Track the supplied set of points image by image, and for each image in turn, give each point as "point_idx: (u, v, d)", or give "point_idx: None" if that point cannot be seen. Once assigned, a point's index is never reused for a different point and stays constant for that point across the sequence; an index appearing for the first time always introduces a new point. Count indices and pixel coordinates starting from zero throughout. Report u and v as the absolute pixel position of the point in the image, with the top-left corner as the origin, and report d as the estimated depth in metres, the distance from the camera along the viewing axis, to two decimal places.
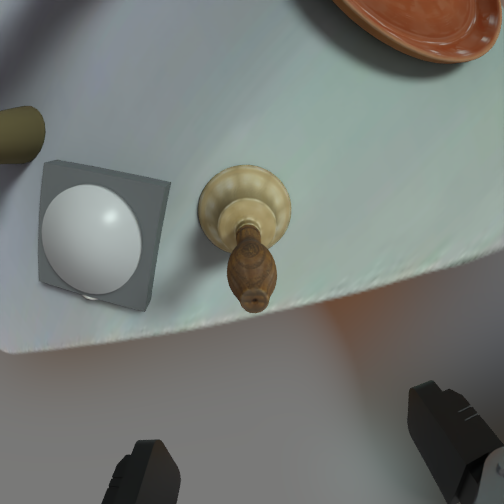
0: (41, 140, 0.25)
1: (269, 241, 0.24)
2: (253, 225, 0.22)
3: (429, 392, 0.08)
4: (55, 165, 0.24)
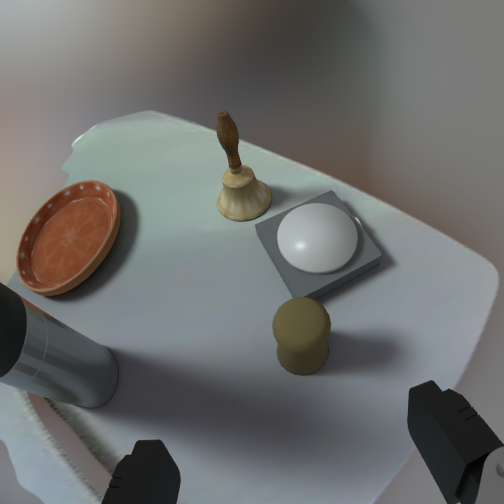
0: None
1: None
2: (229, 167, 0.43)
3: (429, 392, 0.08)
4: (293, 290, 0.38)
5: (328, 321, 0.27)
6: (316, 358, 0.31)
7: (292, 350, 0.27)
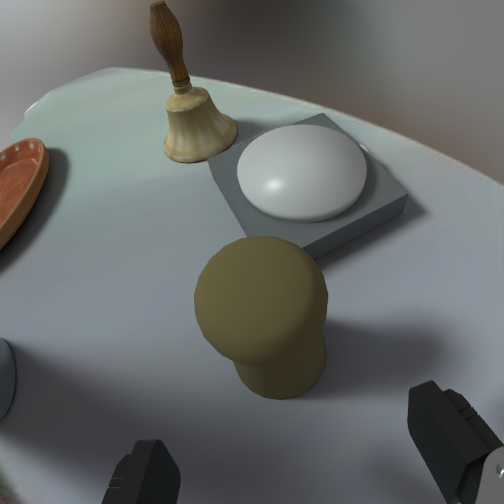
0: None
1: None
2: None
3: (429, 392, 0.08)
4: None
5: (321, 287, 0.11)
6: (301, 370, 0.15)
7: (235, 357, 0.11)
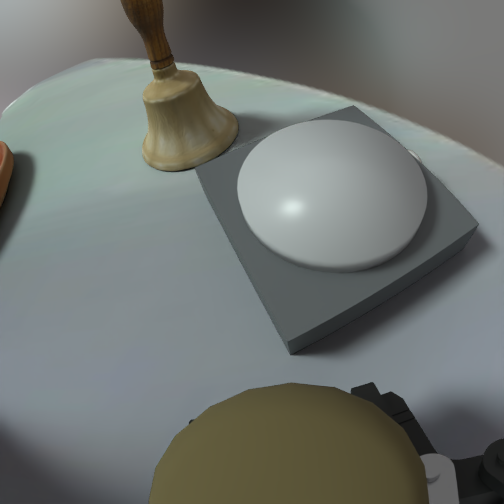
0: None
1: None
2: (152, 68, 0.20)
3: (367, 393, 0.08)
4: (274, 315, 0.14)
5: None
6: None
7: None
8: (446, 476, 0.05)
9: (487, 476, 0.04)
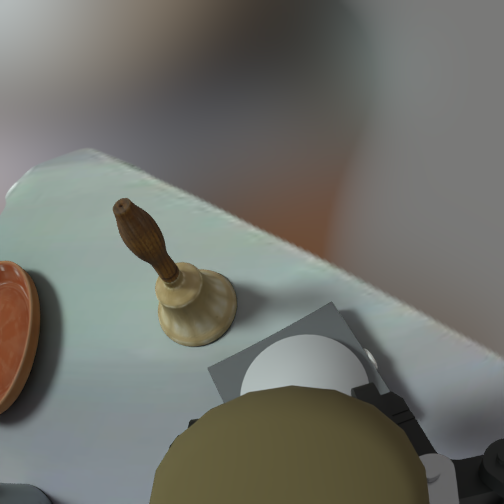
0: None
1: (176, 263, 0.29)
2: None
3: (367, 393, 0.08)
4: None
5: None
6: None
7: None
8: (446, 476, 0.05)
9: (487, 476, 0.04)
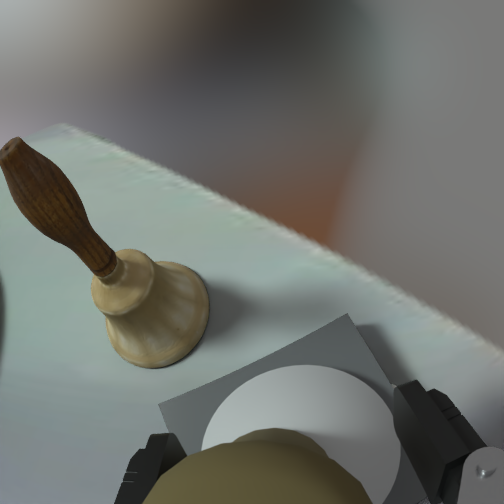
0: (251, 432, 0.14)
1: (121, 250, 0.19)
2: None
3: (412, 391, 0.08)
4: None
5: None
6: None
7: None
8: None
9: None
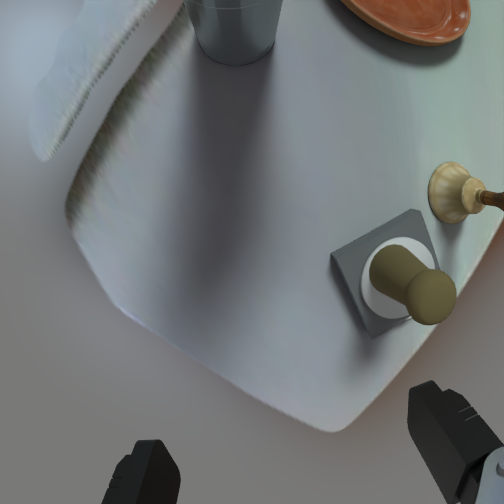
0: None
1: None
2: (483, 190, 0.30)
3: (429, 392, 0.08)
4: (346, 253, 0.36)
5: (432, 324, 0.26)
6: (391, 295, 0.31)
7: (413, 293, 0.26)
8: None
9: None
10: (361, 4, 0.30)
